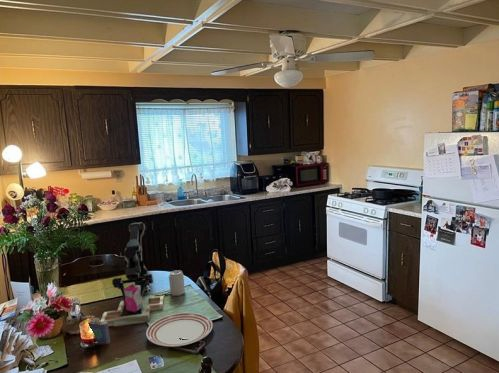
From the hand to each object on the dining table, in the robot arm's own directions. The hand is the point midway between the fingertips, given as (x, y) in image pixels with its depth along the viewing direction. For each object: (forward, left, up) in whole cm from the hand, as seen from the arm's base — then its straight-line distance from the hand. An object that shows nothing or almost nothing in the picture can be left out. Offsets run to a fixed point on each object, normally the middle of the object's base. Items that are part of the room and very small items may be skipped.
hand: (132, 297), depth 179 cm
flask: (+15, -22, -8) cm, 28 cm away
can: (-3, +25, -8) cm, 26 cm away
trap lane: (+1, 0, -7) cm, 7 cm away
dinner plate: (+34, +5, -8) cm, 36 cm away
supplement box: (-1, +1, -7) cm, 7 cm away
